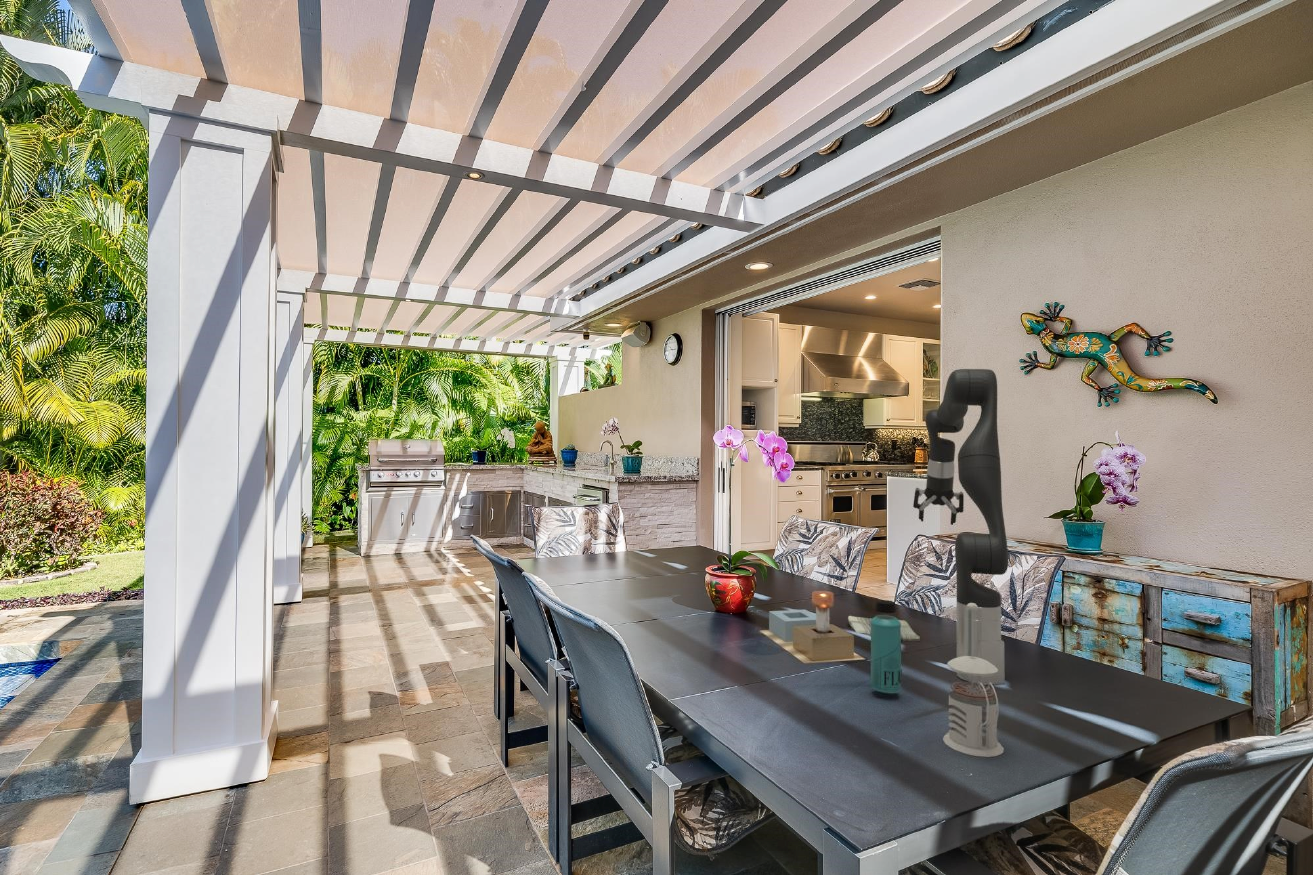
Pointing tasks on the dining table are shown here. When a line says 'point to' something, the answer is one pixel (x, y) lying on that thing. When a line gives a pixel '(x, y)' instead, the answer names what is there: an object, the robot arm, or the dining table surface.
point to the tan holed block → (823, 643)
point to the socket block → (789, 622)
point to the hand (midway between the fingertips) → (936, 522)
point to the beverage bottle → (886, 649)
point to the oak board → (804, 659)
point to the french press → (973, 707)
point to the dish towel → (865, 627)
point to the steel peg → (822, 609)
